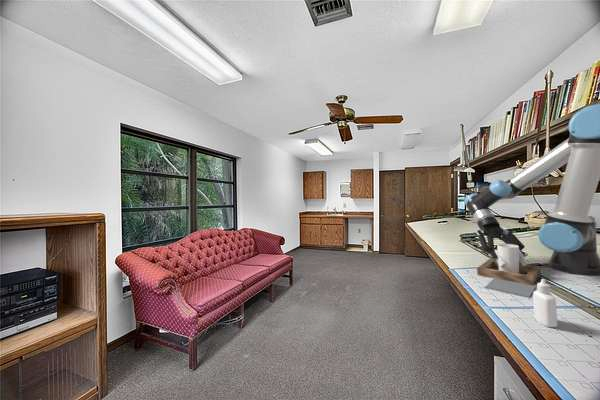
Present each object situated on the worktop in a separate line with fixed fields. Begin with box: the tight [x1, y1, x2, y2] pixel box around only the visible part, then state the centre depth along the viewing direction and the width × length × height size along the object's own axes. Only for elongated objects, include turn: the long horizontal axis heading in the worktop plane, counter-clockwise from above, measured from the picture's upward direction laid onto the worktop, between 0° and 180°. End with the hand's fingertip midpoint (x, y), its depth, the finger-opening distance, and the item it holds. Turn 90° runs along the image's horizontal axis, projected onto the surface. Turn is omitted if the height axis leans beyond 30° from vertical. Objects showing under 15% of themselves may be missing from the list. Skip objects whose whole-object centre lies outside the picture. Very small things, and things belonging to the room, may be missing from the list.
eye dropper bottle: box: [532, 278, 558, 328], centre depth 64 cm, size 4×6×12 cm
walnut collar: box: [476, 258, 542, 286], centre depth 98 cm, size 17×17×3 cm
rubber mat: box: [484, 278, 537, 299], centre depth 86 cm, size 12×12×1 cm
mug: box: [496, 243, 520, 274], centre depth 98 cm, size 10×7×12 cm, turn 125°
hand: (514, 264), depth 95 cm, fingers closed on mug, 8 cm apart
